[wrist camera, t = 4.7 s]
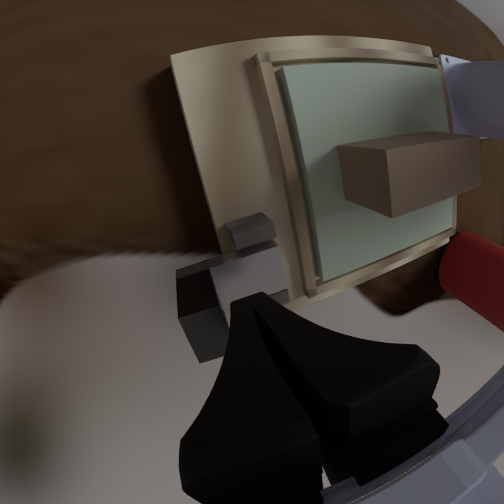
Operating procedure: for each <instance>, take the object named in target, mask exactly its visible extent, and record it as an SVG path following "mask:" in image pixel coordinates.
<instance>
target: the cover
mask: <svg viewBox="0 0 504 504" xmlns="http://www.w3.org/2000/svg"><path fill="white" fill-rule="evenodd" d="M276 73H277V77H278V81H279V84H280V88H281V92H282V97H283V101H284V105H285V109H286V113H287V118H288V122H289V126H290V131H291V136H292V140H293V145H294V150H295V154H296V159H297V164H298V169H299V174H300V179H301V185H302V190H303V195H304V201H305V206H306V212H307V218H308V224H309V230H310V236H311V242H312V249H313V255H314V262H315V269H316V275H317V276H318V277H319V278H320V279H321V280H323V281H326V280H329V279H332V278H334V277H337V276H339V275H342V274H344V273H347V272H349V271H352V270H354V269H357V268H359V267H362V266H364V265H367V264H369V263H371V262H374V261H376V260H379V259H381V258H383V257H386V256H388V255H390V254H393V253H395V252H397V251H400V250H402V249H404V248H407V247H409V246H411V245H414V244H416V243H418V242H420V241H422V240H425V239H427V238H429V237H431V236H434V235H436V234H438V233H440V232H442V231H444V230H447V229H449V228H451V227H452V214H453V197H454V196H456V195H459V194H462V193H465V192H467V191H470V190H473V189H475V188H478V187H481V186H482V171H481V147H480V137H479V136H472V135H464V134H456V133H449V127H448V119H447V112H446V106H445V100H444V94H443V89H442V84H441V79H440V74H439V70H438V69H435V68H427V67H419V66H410V65H398V64H383V63H321V64H305V65H293V66H283V67H281V68H280V69H278V70H277V71H276Z"/></svg>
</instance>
